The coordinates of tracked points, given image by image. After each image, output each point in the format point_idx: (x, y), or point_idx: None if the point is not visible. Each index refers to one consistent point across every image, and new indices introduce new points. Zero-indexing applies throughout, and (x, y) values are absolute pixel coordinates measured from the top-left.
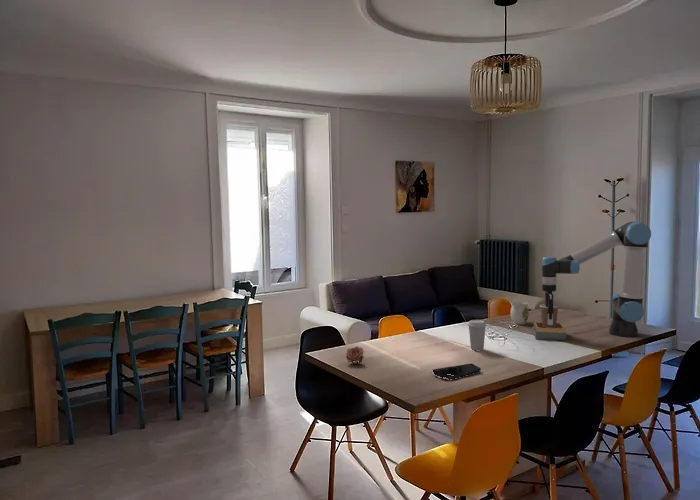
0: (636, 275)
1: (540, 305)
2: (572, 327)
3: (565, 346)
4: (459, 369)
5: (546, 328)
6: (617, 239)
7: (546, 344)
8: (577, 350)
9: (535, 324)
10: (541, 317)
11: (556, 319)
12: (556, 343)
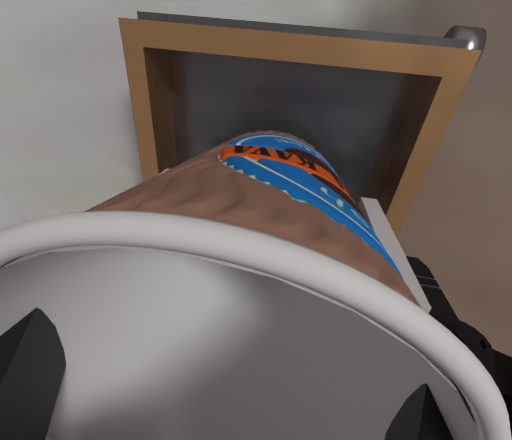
0: None
1: (323, 290)
2: (503, 351)
3: (52, 184)
4: None
5: (139, 136)
6: None
7: (47, 81)
8: (4, 213)
9: (314, 43)
10: (239, 139)
11: (223, 286)
12: (99, 155)
